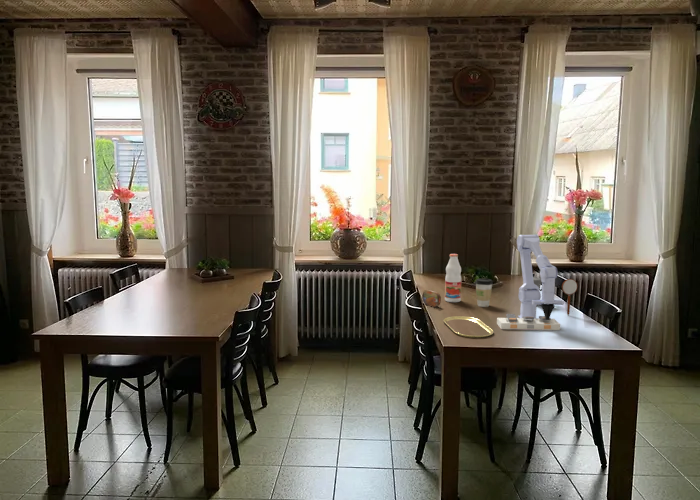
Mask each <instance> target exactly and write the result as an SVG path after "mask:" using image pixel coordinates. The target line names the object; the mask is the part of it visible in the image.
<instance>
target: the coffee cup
mask: <svg viewBox="0 0 700 500" xmlns="http://www.w3.org/2000/svg"><path fill="white" fill-rule="evenodd" d="M474 284H475V292H476V300H477V301H476V302H477V306H478V307H481V308H488V307H489V306H490V301H491V295H492V290H493V288H492V287H493V284H494V283H493V280H492V279H490V278H477V279H476V281H475V282H474Z"/></svg>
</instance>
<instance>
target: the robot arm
mask: <svg viewBox="0 0 700 500" xmlns="http://www.w3.org/2000/svg"><path fill="white" fill-rule="evenodd" d="M540 240H541V239H540V236H539V235H538V233H537V234H535V233H534V234H519V235H518V236H517V238H516V248H517V252H519V255H520V256H519V257H520V264H521V273H522V274H521V275H522V283H523V284H522V285H521V286H520V287H519V288H518V300H519V301H520V309H519V314H520V315H517V318H522V317H534V318H537V305H538V306H540V307H541V309H542V311H543V316H545V319H546V320H549V318H551V315H552V312H553V310H554V308H555V306H564V305H565V303H564V302H565V301H564V300H560V299H559V300H558V299H555V293H556V291H555V290H556V289H555V288H556V287H555V286H556V284H555V283H556V279H557V277H558V268H557V267H556V266H554V265H552V263H551V262H550V259H549V257H548V256H547V255H545V254H544V253H543V251H542V249H541V246H540V243H541V241H540ZM531 253H533V255H534V257H535V258H536V259H535V262H536V263H535V264H536V265H537V266H538V268H539V275H540V276H539V277H541V289H542V291H540V290H539V287H538V286H537V285H535V284H534V281H533V274H534V273H533V265H532V257H531ZM528 289H531V290H528Z"/></svg>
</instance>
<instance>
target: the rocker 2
mask: <svg viewBox="0 0 700 500" xmlns="http://www.w3.org/2000/svg"><path fill="white" fill-rule="evenodd" d="M538 318H540V319H541V320H546V319H545V315H539V316H538ZM551 319H552V318H551V317H550V318H549V320H551Z"/></svg>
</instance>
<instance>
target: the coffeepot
mask: <svg viewBox="0 0 700 500" xmlns="http://www.w3.org/2000/svg"><path fill="white" fill-rule="evenodd" d="M535 275H536V274H535V273H533V281H534V284H535V285H537V286H538V287H539V291H540V292H542V288H541V287H542V282H541V276H538V277H536V276H535ZM528 290H531V289H528ZM537 306H539V305H537ZM537 306H536V307H537Z"/></svg>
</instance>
